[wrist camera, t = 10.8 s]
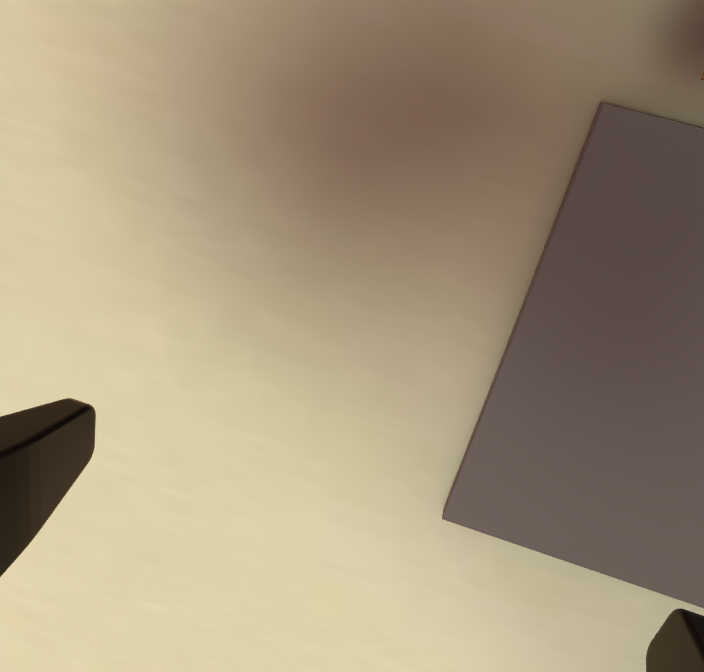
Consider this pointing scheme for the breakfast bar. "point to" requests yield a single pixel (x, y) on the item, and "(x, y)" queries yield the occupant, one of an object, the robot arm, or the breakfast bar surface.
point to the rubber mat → (606, 372)
